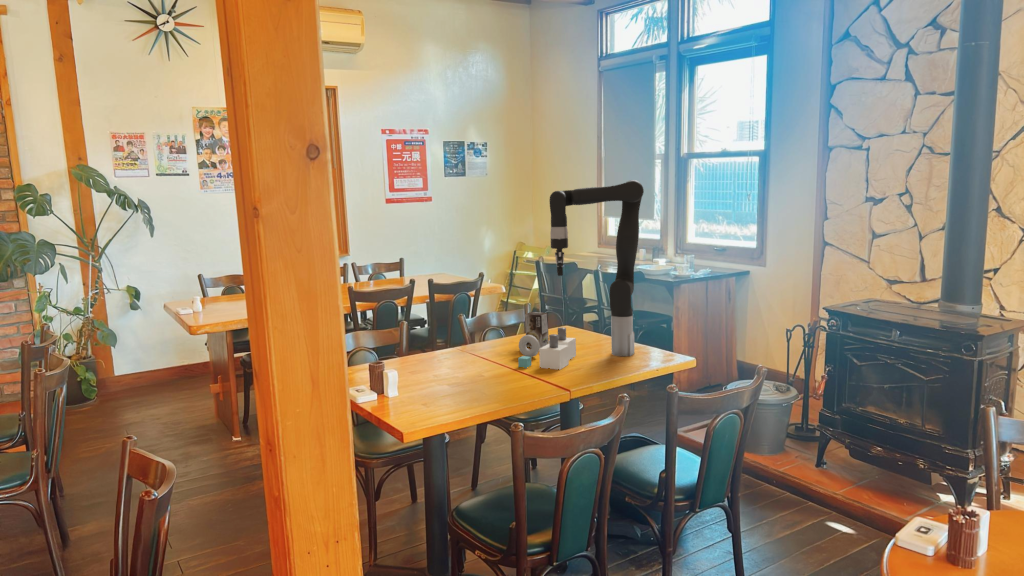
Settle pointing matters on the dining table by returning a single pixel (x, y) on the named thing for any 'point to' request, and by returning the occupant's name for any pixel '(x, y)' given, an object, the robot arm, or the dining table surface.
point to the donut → (534, 343)
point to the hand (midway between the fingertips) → (559, 274)
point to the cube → (524, 361)
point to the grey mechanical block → (537, 327)
